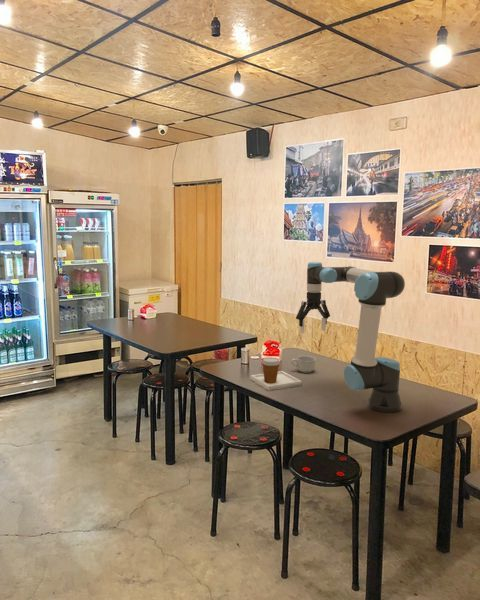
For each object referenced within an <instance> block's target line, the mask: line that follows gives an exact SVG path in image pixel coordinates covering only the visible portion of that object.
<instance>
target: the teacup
mask: <svg viewBox="0 0 480 600" xmlns="http://www.w3.org/2000/svg"><path fill="white" fill-rule="evenodd" d="M316 360H317V359H316V357H315V356H311V355H298V356H297V357H296V358H292V359H291V361H290V363H291V365H292V366H293V367H295V369H297V370H298V371H299V372H301V373H305V374H308V373H311V372H313V371H314V370H315V367H316ZM294 361H295V362H296V364H294Z"/></svg>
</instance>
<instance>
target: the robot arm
mask: <svg viewBox="0 0 480 600" xmlns="http://www.w3.org/2000/svg"><path fill="white" fill-rule="evenodd" d="M306 269H307V271H306V301H304V300H301V305H300V307H299V309H298V312H297V314H296V317H295V319H296V320H298V321H299V322H298V326H299V333H302V334H304V333H305V321H306V320H304V319H306V317H307V316H308V314H309V313H310V311H311V310H317V311H318V313H319V314H320V315H321V316H322V317H321V324H320V325H321V326H320V328H321V329H320V330H321V331H324V332H325V331H326V326H327V324H328V323H327V321H328V319H329V318H330V317H331V314H330V311H329V309H328V306H327V301H326V300H325V299H322V284H323V283H325V284H332V283H338V282H339V283H341V282H346V283H350V284H354V286H353V291H354V295H355V297H356V298H357V300H358V304H360V305H361V306H360V313H359V320H358V321H359V322H358V330H357V335H356V336H357V338H356V346H355V353H354V355H353V356H352V357H350V364H347V365H346V366H345V367H344V370H343V376H344V380H345V382H346V384H347V386H348V387H349V388H350V389H351V390H354V391H364V390H368V389H369V390H371V389H372V390H371V393H370V397H369V398H368V400H367V406H368V407H369V408H370V409H371V410H374V411H376V412H380V413H381V412H382V413H397V412H400V411H401V410H402V406H403V405H402V401H401V397H400V394H399V391H400V390H399V389H400V387H399V386H400V377H401V376H400V373H401V364H400V362H399V361H398V360H396V359H393V358H389V357H383V356H376V350H377V344H378V343H377V342H378V337H379V336H378V335H379V328H380V320H381V313H382V312H381V311H382V308H383V307H384V306H385V305H386V302H387V299H392V298H395V297H398V296H399V295H401V294H402V293H403V292H404V289H405V286H406V285H405V284H406V283H405V279H404V277H403V276H402V275H401V274H400V273H399V272H395V271H374V270H368V269H361V268H357V267H356V266H350V265H349V266H333V267H332V266H330V267H329V266H327V267H326V266H325V267H324V266H323V264H322V262H320V261H309V262H307V268H306Z"/></svg>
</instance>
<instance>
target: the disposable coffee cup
mask: <svg viewBox="0 0 480 600" xmlns="http://www.w3.org/2000/svg"><path fill="white" fill-rule="evenodd" d="M280 363H281V362H280V359H279V358H276V357H265V358H262V361H261V364H262V370H263V371H262V372H263V374H264V381H265V382H266V383H275V382H276V380H277V373H278V372H279V368H280V367H279V366H280Z"/></svg>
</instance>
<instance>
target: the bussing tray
mask: <svg viewBox="0 0 480 600" xmlns="http://www.w3.org/2000/svg"><path fill="white" fill-rule="evenodd" d="M250 381H252V382H253V383H255V384H257V385H258V386H260V387H262V388H263V389H265V390H267V391H268V392H269V391H270V392H271V391H278V390H283V389H291V388H295V387H297V388H298V387H302V386H303V381H302V380H300V379H299V378H297V377H295V376H293V375H291V374H289V373H287V372H285V371H283V370H281V371H280V370H278V373H277V380H276V382H275V383H266V382H265V381H264V373H258V374H251V375H250Z"/></svg>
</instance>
